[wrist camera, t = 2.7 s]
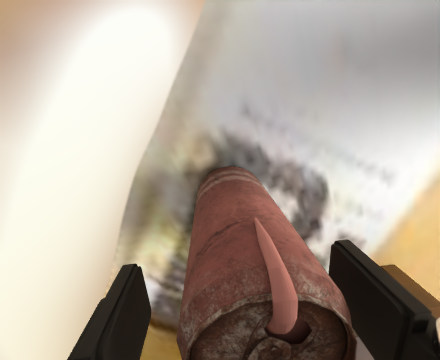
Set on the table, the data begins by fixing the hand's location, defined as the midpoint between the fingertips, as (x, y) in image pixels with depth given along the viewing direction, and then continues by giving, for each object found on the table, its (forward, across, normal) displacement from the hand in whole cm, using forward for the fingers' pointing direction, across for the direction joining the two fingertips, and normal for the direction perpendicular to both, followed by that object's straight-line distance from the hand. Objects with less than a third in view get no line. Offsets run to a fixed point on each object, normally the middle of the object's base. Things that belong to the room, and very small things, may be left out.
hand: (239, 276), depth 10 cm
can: (+10, -1, 0) cm, 10 cm away
